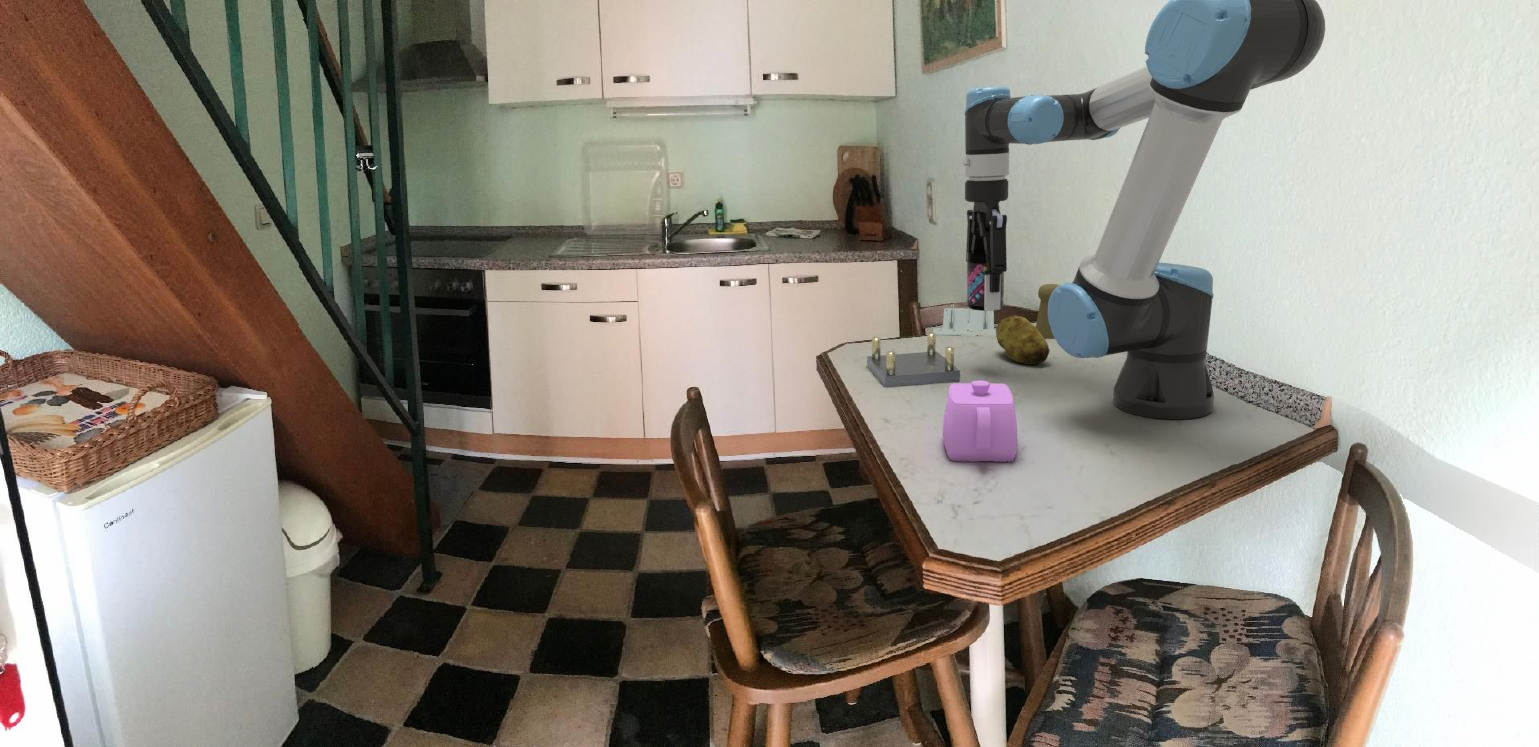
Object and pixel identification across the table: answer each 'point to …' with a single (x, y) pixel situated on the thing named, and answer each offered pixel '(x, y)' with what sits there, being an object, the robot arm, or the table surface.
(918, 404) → the table surface
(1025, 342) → the potato
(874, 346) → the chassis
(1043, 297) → the tan game pawn
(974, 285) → the supplement container
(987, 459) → the teapot
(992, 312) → the metal bracket
